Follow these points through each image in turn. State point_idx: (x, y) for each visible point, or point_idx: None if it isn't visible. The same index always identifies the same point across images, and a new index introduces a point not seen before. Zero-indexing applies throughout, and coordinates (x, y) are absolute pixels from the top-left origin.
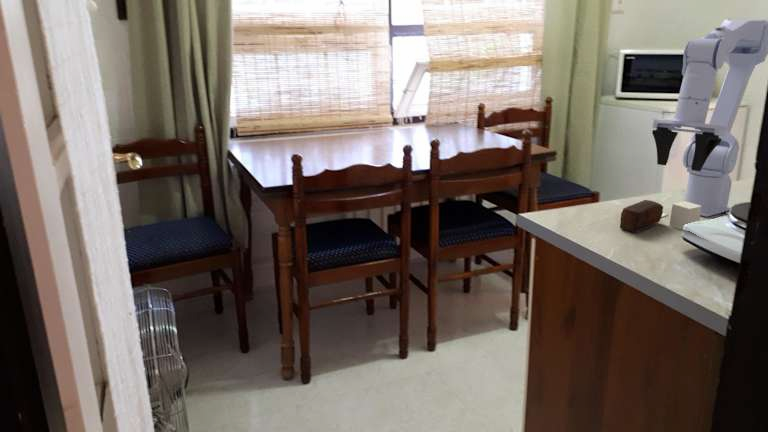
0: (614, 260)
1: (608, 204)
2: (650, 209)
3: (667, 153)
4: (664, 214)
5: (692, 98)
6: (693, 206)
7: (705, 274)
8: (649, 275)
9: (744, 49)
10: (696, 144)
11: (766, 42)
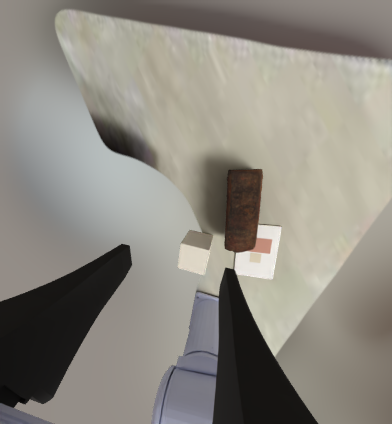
0: (197, 35)
1: (326, 267)
2: (226, 209)
3: (220, 322)
4: (236, 270)
5: None
6: (183, 258)
7: (109, 107)
8: (140, 33)
9: None
10: (46, 303)
11: None
